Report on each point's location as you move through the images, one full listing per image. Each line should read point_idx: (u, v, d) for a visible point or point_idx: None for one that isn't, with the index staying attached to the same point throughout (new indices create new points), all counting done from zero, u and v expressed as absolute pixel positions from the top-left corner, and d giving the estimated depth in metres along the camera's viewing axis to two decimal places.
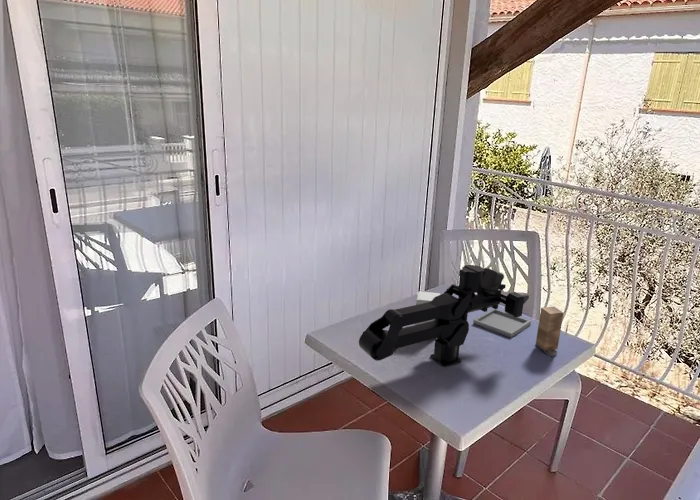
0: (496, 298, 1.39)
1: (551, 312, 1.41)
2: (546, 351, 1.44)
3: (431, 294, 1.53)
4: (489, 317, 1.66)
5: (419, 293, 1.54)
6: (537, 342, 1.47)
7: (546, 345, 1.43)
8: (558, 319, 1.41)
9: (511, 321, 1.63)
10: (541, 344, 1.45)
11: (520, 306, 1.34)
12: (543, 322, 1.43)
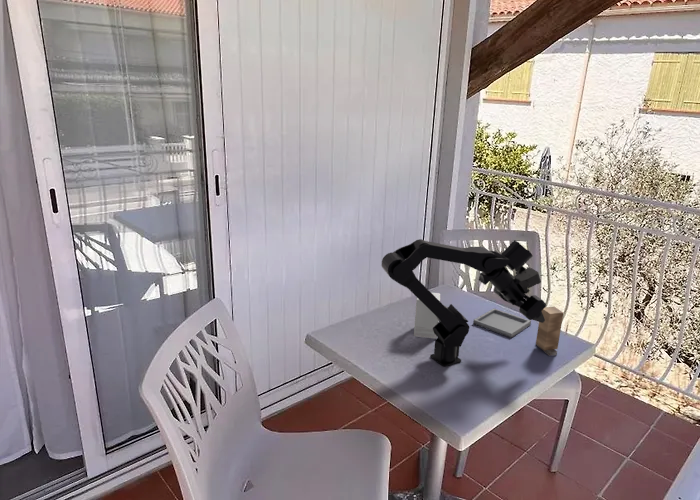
0: (520, 293, 1.35)
1: (551, 312, 1.41)
2: (546, 351, 1.44)
3: None
4: (489, 317, 1.66)
5: None
6: (537, 342, 1.47)
7: (546, 345, 1.43)
8: (558, 319, 1.41)
9: (511, 321, 1.63)
10: (541, 344, 1.45)
11: (538, 308, 1.30)
12: (543, 322, 1.43)
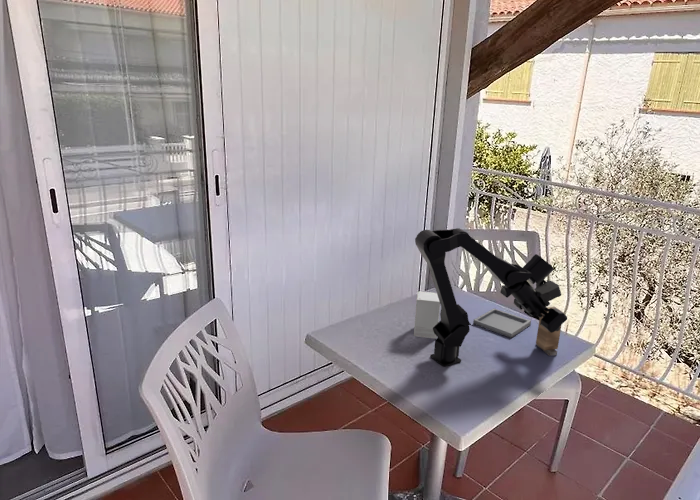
0: (541, 306, 1.38)
1: None
2: (546, 351, 1.44)
3: (431, 294, 1.53)
4: (489, 317, 1.66)
5: (419, 293, 1.54)
6: (537, 342, 1.47)
7: (546, 345, 1.43)
8: None
9: (511, 321, 1.63)
10: (541, 344, 1.45)
11: (559, 321, 1.32)
12: None
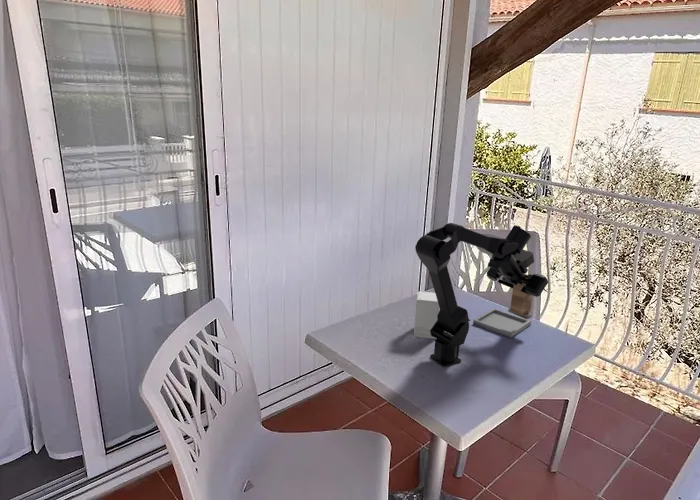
0: (521, 274, 1.46)
1: None
2: (522, 316, 1.53)
3: (431, 294, 1.53)
4: (489, 317, 1.66)
5: (419, 293, 1.54)
6: (512, 309, 1.55)
7: (523, 310, 1.52)
8: None
9: (511, 321, 1.63)
10: (517, 310, 1.53)
11: (543, 285, 1.42)
12: (518, 289, 1.52)
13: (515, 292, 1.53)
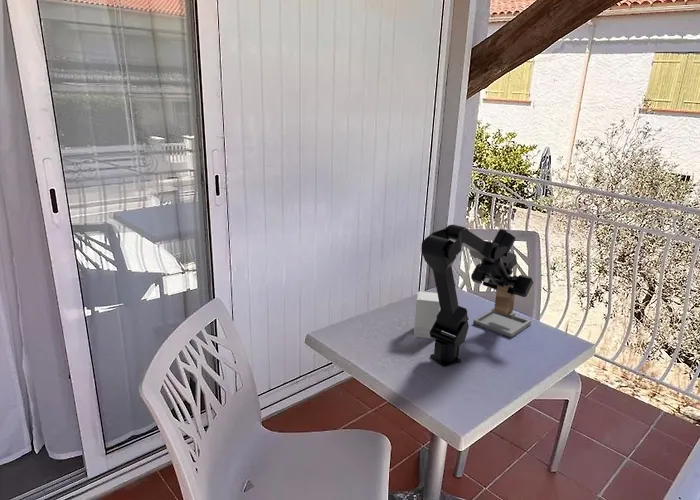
0: (508, 276, 1.50)
1: None
2: (506, 315, 1.59)
3: (431, 294, 1.53)
4: (489, 317, 1.66)
5: (419, 293, 1.54)
6: (496, 309, 1.60)
7: (507, 310, 1.57)
8: None
9: (511, 321, 1.63)
10: (502, 310, 1.58)
11: (530, 285, 1.48)
12: (502, 290, 1.57)
13: (499, 293, 1.58)
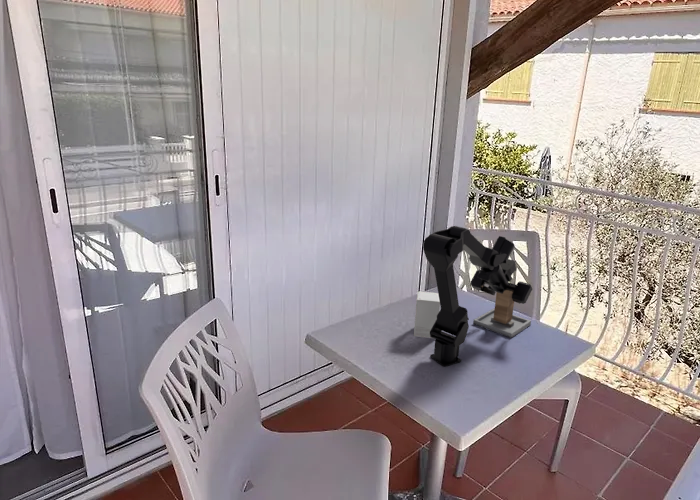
0: (507, 282, 1.51)
1: None
2: (506, 324, 1.60)
3: (431, 294, 1.53)
4: (489, 317, 1.66)
5: (419, 293, 1.54)
6: (495, 318, 1.61)
7: (506, 319, 1.58)
8: None
9: None
10: (501, 319, 1.59)
11: (529, 292, 1.48)
12: (501, 299, 1.58)
13: (498, 302, 1.59)
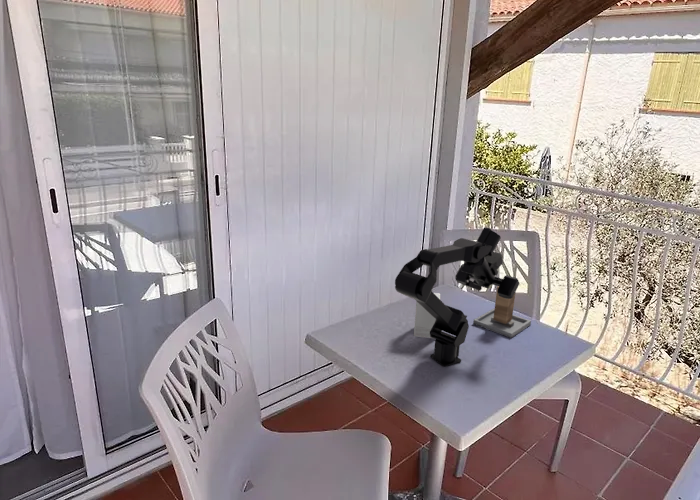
0: (493, 276, 1.43)
1: None
2: (506, 324, 1.60)
3: None
4: (489, 317, 1.66)
5: None
6: (495, 318, 1.61)
7: (506, 319, 1.58)
8: None
9: None
10: (501, 319, 1.59)
11: (515, 286, 1.40)
12: (501, 299, 1.58)
13: (498, 302, 1.59)
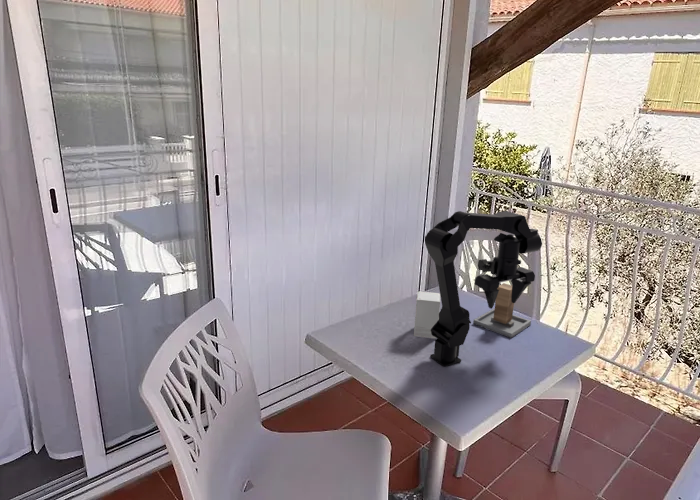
0: None
1: (509, 289, 1.56)
2: (506, 324, 1.60)
3: (431, 294, 1.53)
4: (489, 317, 1.66)
5: (419, 293, 1.54)
6: (495, 318, 1.61)
7: (506, 319, 1.58)
8: None
9: None
10: (501, 319, 1.59)
11: None
12: (501, 299, 1.58)
13: (498, 302, 1.59)
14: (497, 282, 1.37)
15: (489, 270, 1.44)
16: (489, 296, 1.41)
